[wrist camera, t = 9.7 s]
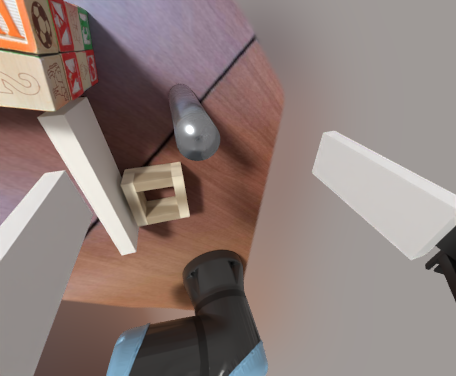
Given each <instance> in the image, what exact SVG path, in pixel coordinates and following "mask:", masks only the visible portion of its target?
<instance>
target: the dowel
mask: <svg viewBox="0 0 456 376" xmlns="http://www.w3.org/2000/svg"><path fill="white" fill-rule="evenodd" d="M168 98H169V104H170V109H171V115H172V121H173V127H174V132H175V138H176V144H177V147H178V150H179V151H180V153H181V154H182V155H183V156H185V157H186V158H188V159H190V160H194V161H201V160H205V159H208V158H209V157H211V156H212V155H213V154H214V153H215V152H216V151H217V149H218V147H219V144H220V134H219V131H218V129H217V128H216V126H215V125H214V123H213V122H212V120H211V119H210V117H209V116H208V114H207V113H206V111H205V110H204V108H203V107H202V105H201V104H200V102H199V101H198V99H197V98H196V96H195V95H194V93H193V92H192V90H191V89H190V88H189V87H188V86H186V85H184V84H176V85H174V86H173V87H172V88H171V89H170V91H169V95H168Z"/></svg>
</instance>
